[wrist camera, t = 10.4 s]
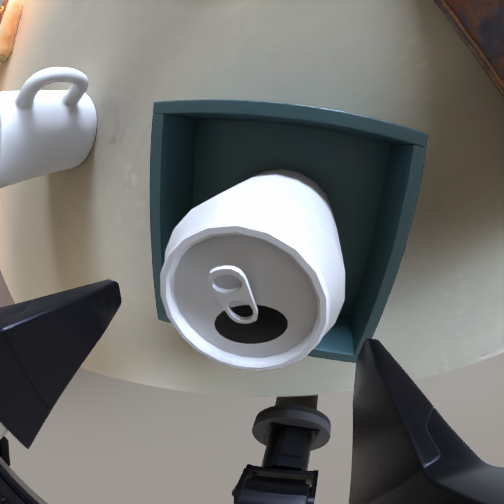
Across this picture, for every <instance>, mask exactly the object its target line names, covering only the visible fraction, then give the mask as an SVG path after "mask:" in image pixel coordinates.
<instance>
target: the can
mask: <svg viewBox="0 0 504 504" xmlns="http://www.w3.org/2000/svg"><path fill="white" fill-rule="evenodd" d="M160 296H161V299H162V302H163V305H164V308H165V311H166V314H167V317H168V318H169V320H170V321H171V323H172V324H173V326H174V327H175V329H176V330H177V332H178V333H179V335H180V336H181V337H182V338H183V339H184V340H185V341H186V342H187V343H189V344H190V345H191V346H192V347H193V348H194V349H195V350H196V351H197V352H199V353H201V354H203V355H204V356H206V357H208V358H210V359H211V360H213V361H215V362H217V363H219V364H223V365H226V366H229V367H232V368H236V369H239V370H251V371H267V370H273V369H278V368H283V367H287V366H289V365H291V364H293V363H295V362H297V361H299V360H301V359H303V358H304V357H306V356H307V355H308V354H309V353H310V352H311V351H312V350H313V349H314V348H315V347H316V346H317V344H318V343H319V342H320V341H321V339H322V337H323V336H324V335H325V334H326V333H327V332H328V331H329V330H330V328H331V327H332V326H333V325H334V324H335V322H336V320H337V318H338V315H339V313H340V310H341V308H342V305H343V303H344V300H345V268H344V263H343V257H342V252H341V247H340V241H339V236H338V231H337V227H336V222H335V217H334V213H333V209H332V207H331V204H330V202H329V200H328V197H327V195H326V194H325V193H324V191H323V190H322V189H321V188H320V187H319V186H318V184H317V183H316V182H315V181H313V180H311V179H310V178H308V177H306V176H305V175H303V174H301V173H299V172H295V171H290V170H286V169H277V170H268V171H264V172H262V173H260V174H257V175H255V176H253V177H251V178H249V179H247V180H245V181H243V182H241V183H239V184H237V185H235V186H234V187H232V188H230V189H228V190H226V191H224V192H222V193H220V194H218V195H217V196H215V197H213V198H211V199H209V200H207V201H206V202H204V203H202V204H200V205H198V206H197V207H195V208H193V209H191V210H190V211H189V213H188V214H187V215H186V216H185V217H184V218H183V219H182V220H181V221H180V223H179V224H178V225H177V226H176V227H175V228H174V230H173V232H172V235H171V237H170V240H169V243H168V245H167V248H166V251H165V262H164V265H163V267H162V270H161V273H160Z"/></svg>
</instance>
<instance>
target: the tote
mask: <svg viewBox="0 0 504 504" xmlns="http://www.w3.org/2000/svg"><path fill="white" fill-rule="evenodd" d="M153 114H154V115H153V119H152V134H151V155H150V227H151V249H152V264H153V277H154V288H155V298H156V307H157V314H158V319H159V320H162V321H166V322H169V323H171V321H170V320H169V318H168V317H167V314H166V311H165V308H164V305H163V302H162V299H161V296H160V273H161V270H162V267H163V265H164V262H165V251H166V248H167V245H168V243H169V240H170V237H171V235H172V232H173V230H174V228H175V227H176V226H177V225H178V224H179V223H180V221H181V220H182V219H183V218H184V217H185V216H186V215H187V214H188V213H189V211H190V210H191V209H193V208H195V207H197V206H198V205H200V204H202V203H204V202H206V201H207V200H209V199H211V198H213V197H215V196H217V195H218V194H220V193H222V192H224V191H226V190H228V189H230V188H232V187H234V186H235V185H237V184H239V183H241V182H243V181H245V180H247V179H249V178H251V177H253V176H255V175H257V174H260V173H262V172H264V171H268V170H277V169H286V170H290V171H295V172H299V173H301V174H303V175H305V176H306V177H308V178H310V179H311V180H313V181H315V182H316V183H317V184H318V186H319V187H320V188H321V189H322V190H323V191H324V193H325V194H326V195H327V197H328V200H329V202H330V204H331V207H332V209H333V213H334V217H335V222H336V227H337V231H338V236H339V241H340V247H341V252H342V257H343V263H344V268H345V300H344V303H343V305H342V308H341V310H340V313H339V315H338V318H337V320H336V322H335V324H334V325H333V326H332V327H331V328H330V330H329V331H328V332H327V333H326V334H325V335H324V336H323V337H322V339H321V341H320V342H319V343H318V344H317V346H316V347H315V348H314V349H313V350H312V351H311V352H310V353H309V354H308V355H307V356H312V357H319V358H325V359H331V360H338V361H345V362H353V363H356V361H357V357H358V354H359V352H360V350H361V348H362V346H363V343H364V341H365V340H366V339H367V338H369V339H372V337H373V335H374V332H375V330H376V328H377V325H378V323H379V320H380V318H381V315H382V313H383V310H384V308H385V305H386V303H387V300H388V297H389V295H390V292H391V289H392V286H393V283H394V281H395V278H396V275H397V272H398V269H399V265H400V262H401V259H402V256H403V253H404V249H405V246H406V242H407V239H408V235H409V231H410V227H411V224H412V220H413V215H414V211H415V207H416V202H417V198H418V193H419V188H420V183H421V178H422V172H423V166H424V160H425V153H426V147H427V139H428V134H427V133H424V132H421V131H417V130H414V129H411V128H408V127H404V126H401V125H397V124H394V123H390V122H386V121H382V120H378V119H374V118H370V117H366V116H361V115H357V114H352V113H347V112H342V111H336V110H330V109H324V108H318V107H311V106H304V105H296V104H287V103H277V102H265V101H249V100H178V101H162V102H154V109H153Z"/></svg>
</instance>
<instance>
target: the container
mask: <svg viewBox="0 0 504 504" xmlns="http://www.w3.org/2000/svg"><path fill="white" fill-rule="evenodd" d="M434 1H435V2H436V3H437V5H438V6H439V7H440V9H441V10H442V11H443V12H444V14H445V15H446V16H447V18H448V19H449V21H450V22H451V23H452V25H453V26H454V28H455V29H456V30H457V32H458V33H459V35H460V37H461V38H462V39H463V40H464V42H465V43H466V44H467V45H468V47H469V48H470V49H471V51H472V52H473V53H474V55H475V56H476V57H477V59H478V60H479V62H480V63H481V64H482V66H483V67H484V69H485V70H486V72H487V73H488V75H489V77H490V78H491V80H492V81H493V82H494V83H495V85H496V86H497V87H498V89H499V90H500V91H501V93H502V94H503V95H504V0H434Z"/></svg>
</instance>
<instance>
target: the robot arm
mask: <svg viewBox="0 0 504 504" xmlns="http://www.w3.org/2000/svg"><path fill="white" fill-rule="evenodd" d="M120 305H121V295H120V289H119V284H118V283H117V282H116V281H113V280H104V281H100V282H96V283H93V284H89V285H85V286H81V287H78V288H74V289H70V290H66V291H63V292H59V293H55V294H51V295H48V296H44V297H40V298H36V299H33V300H29V301H25V302H21V303H18V304H14V305H9V306H4V307H0V504H47V503H46V502H45V501H44V500H43V499H42V498H40V497H39V496H38V495H37V494H36V493H35V492H34V491H33V490H31V489H30V488H29V487H28V486H27V485H26V484H25V483H24V482H23V481H22V480H21V479H20V478H19V477H18V476H17V475H16V474H15V473H14V471H12V469H11V468H10V467H9V466H10V458H9V445H8V440H7V439H6V437H5V436H4V435H5V434H6V432H7V431H8V430H9V431H10V432H11V433H12V434H13V435H14V436H15V437H16V438H17V439H18V440H19V441H20V442H21V443H22V444H23V445H24V446H25V447H26V448H27V449H29V447H30V446H31V444H32V442H33V441H34V439H35V437H36V435H37V434H38V432H39V430H40V428H41V427H42V425H43V423H44V422H45V420H46V418H47V417H48V415H49V414H50V411H51V410H52V408H53V407H54V405H55V403H56V402H57V400H58V399H59V397H60V395H61V394H62V393H63V391H64V390H65V388H66V387H67V385H68V384H69V382H70V380H71V379H72V378H73V376H74V375H75V373H76V372H77V370H78V369H79V367H80V366H81V364H82V363H83V362H84V360H85V359H86V357H87V356H88V354H89V353H90V352H91V350H92V349H93V347H94V346H95V345H96V343H97V342H98V341H99V339H100V338H101V336H102V335H103V333H104V332H105V330H106V328H107V327H108V325H109V323H110V322H111V320H112V318H113V317H114V315H115V313H116V312H117V310H118V309H119V307H120ZM319 434H320V430H319V429H313V428H305V427H299V426H292V425H286V424H281V423H275V422H271V423H270V424H269V428H268V431H267V434H266V437H265V440H264V444H265V445H267V447H266V450H265V454H264V458H263V461H262V465H261V467H258V466H252V465H249V464H248V465H247V466H246V468H245V469H244V470H243V473H242V475H241V477H240V480H239V482H238V483H237V485H236V486H235V488H234V490H233V491H232V495H233V497H234V504H314V500H315V493H316V486H317V478H318V470H317V471H316V470H315V471H307V469H308V463H309V456H310V449H311V446H312V445H313V443H314V442H315V440H316V438H317V437H318V435H319ZM310 485H311V487H310ZM349 504H504V468H502V467H495V466H492V465H489V464H486V463H485V462H484V461H482V460H481V459H480V458H479V457H478V456H477V455H476V454H475V453H474V452H473V451H472V450H471V449H470V448H469V447H468V446H467V444H466V443H465V442H463V440H462V439H461V438H460V437H459V436H458V435H457V434H456V433H455V432H454V430H453V429H452V428H451V427H450V426H449V425H448V424H447V422H446V421H445V420H444V419H443V417H442V416H441V415H440V414H439V413H438V411H437V410H436V409H435V408H433V405H432V404H431V403H430V401H429V400H428V399H427V398H426V396H425V395H424V394H423V393H422V391H421V390H420V389H419V388H418V387H417V385H416V384H415V383H414V382H413V380H412V379H411V378H410V377H409V376H408V374H407V373H406V372H405V371H404V370H403V368H402V367H401V366H400V365H399V364H398V363H397V361H396V360H395V359H394V358H393V357H392V355H391V354H390V353H389V352H388V351H387V350H386V348H385V347H384V346H383V345H382V344H381V343H380V341H379V340H377V339H369V338H367V339H366V340H365V341H364V343H363V346H362V348H361V350H360V352H359V354H358V357H357V361H356V372H355V384H354V396H353V451H352V471H351V485H350V497H349Z"/></svg>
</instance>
